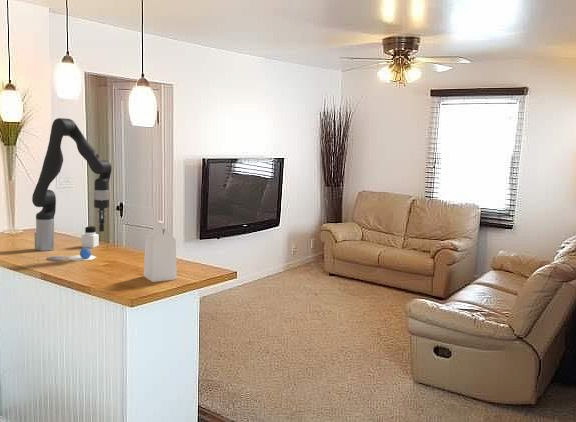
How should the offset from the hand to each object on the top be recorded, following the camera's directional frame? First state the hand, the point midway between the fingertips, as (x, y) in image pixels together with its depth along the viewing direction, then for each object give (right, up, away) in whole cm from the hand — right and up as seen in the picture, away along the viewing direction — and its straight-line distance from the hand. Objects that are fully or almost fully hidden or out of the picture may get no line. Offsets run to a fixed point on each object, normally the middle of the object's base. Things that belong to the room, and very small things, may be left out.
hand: (101, 231), depth 293 cm
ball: (-7, -11, -4) cm, 14 cm away
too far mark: (-21, -14, -6) cm, 26 cm away
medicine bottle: (-16, -10, +29) cm, 35 cm away
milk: (+40, -20, -38) cm, 59 cm away
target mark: (-10, -14, -2) cm, 17 cm away
